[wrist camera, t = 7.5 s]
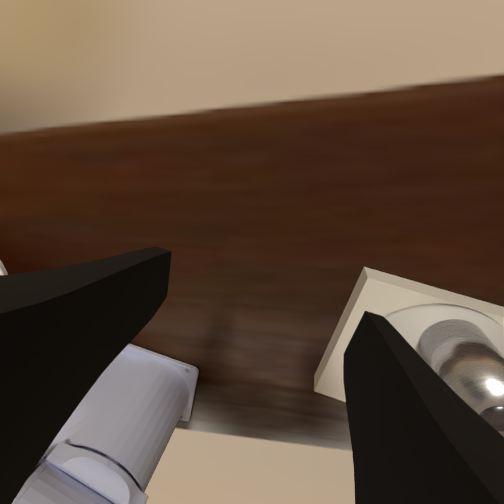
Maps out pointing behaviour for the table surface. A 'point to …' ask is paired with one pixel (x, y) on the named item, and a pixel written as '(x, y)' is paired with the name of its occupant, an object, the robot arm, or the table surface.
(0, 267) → the white phone stand
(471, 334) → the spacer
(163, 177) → the table surface
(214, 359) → the table surface
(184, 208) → the table surface
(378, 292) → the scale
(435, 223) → the table surface
